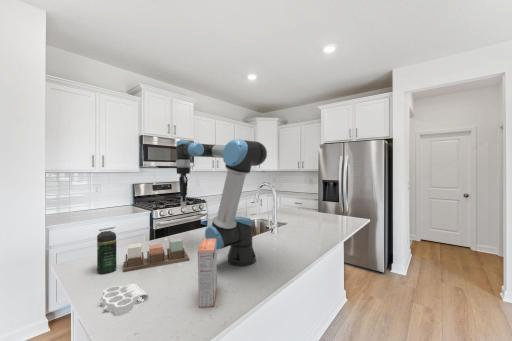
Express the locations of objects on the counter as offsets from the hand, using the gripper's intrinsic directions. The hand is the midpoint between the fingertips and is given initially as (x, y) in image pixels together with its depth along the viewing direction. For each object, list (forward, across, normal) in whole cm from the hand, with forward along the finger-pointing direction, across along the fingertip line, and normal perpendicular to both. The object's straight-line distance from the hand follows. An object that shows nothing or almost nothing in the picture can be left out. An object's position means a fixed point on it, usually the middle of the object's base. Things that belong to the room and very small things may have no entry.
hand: (183, 206), depth 142 cm
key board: (+26, +10, -16) cm, 32 cm away
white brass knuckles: (+27, +43, -30) cm, 59 cm away
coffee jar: (+27, +9, -38) cm, 47 cm away
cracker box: (+27, +55, -1) cm, 61 cm away
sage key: (+22, +10, -6) cm, 25 cm away
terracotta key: (+24, +10, -16) cm, 30 cm away
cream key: (+22, +10, -26) cm, 36 cm away
